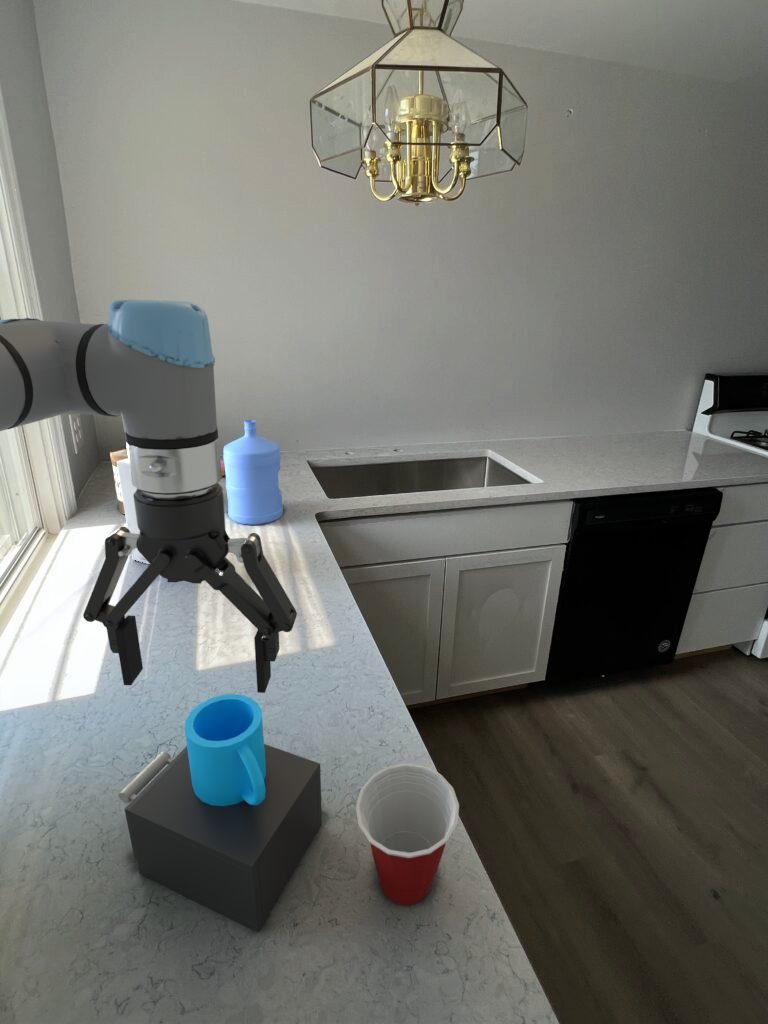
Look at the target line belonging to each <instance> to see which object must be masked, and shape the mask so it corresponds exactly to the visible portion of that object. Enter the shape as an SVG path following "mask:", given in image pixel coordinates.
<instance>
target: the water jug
mask: <svg viewBox="0 0 768 1024" xmlns="http://www.w3.org/2000/svg"><path fill="white" fill-rule="evenodd" d="M243 423H244V427H243V428H244V435H243V436H241V437H239V438H236V439H235V440H233V441H231V442H229V443H227V444H225V445H224V447H223V449H222V450H223V456H222V457H223V460H224V463H225V474H226V476H225V490H226V496H227V506H228V507H227V515H228V517H229V519H230V520H231V521H233V522H234V523H237V524H241V525H251V526H252V525H253V526H254V525H255V526H256V525H264V524H268V523H272V522H275V521H277V520H278V519H280V518H281V517H282V516H283V514H284V505H283V495H282V494H283V493H282V489H280V485H279V473H280V470H281V450H280V446H279V444H278V443H276V441H272V440H270V439H268V438H265V437H262V436H260V435H258V434H257V426H256V423H257V420H255V419H245V420H244V421H243Z"/></svg>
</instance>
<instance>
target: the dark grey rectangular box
mask: <svg viewBox="0 0 768 1024" xmlns="http://www.w3.org/2000/svg"><path fill="white" fill-rule="evenodd" d="M264 750H265V763H266V776H265V779H264V784H265V789H266V791H265V798H264V800H263V801H262V802H261V803H260V804H259V805H250V804H248V803H247V802H246V801H245V800H244V801H241V802H239V803H237V804H233V805H227V806H215V805H210V804H207V803H205V802H203V801H201V800H200V799H199V798H198V797H197V796H196V795H195V792H194V789H193V786H192V779H191V772H190V764H189V757H188V750H186V751H185V752H184V753H183V754H182V755H181V756H180V757H179V758H178V759H177V760H176V761H175V762H174V763H173V764H172V765H171V766H170V767H169V768H168V769H167V771H166V772H165V773H164V774H163V775H162V776H161V777H160V778H159V779H158V780H157V781H156V782H155V783H154V784H153V785H152V786H151V787H150V788H149V789H148V790H147V791H146V792H145V793H144V794H143V795H142V796H141V797H140V798H139V799H138V800H137V801H136V802H135V803H134V804H133V805H132V806H131V807H130V808H129V809H128V810H127V812H128V817H129V822H130V827H131V832H132V837H133V842H134V847H135V852H136V857H137V860H136V861H137V867H138V871H139V875H141V876H143V877H144V878H147V879H149V880H150V881H153V882H155V883H157V884H159V885H161V886H163V887H165V888H167V889H169V890H171V891H172V892H175V893H177V894H179V895H181V896H183V897H186V898H187V899H189V900H191V901H193V902H195V903H197V904H200V905H202V906H204V907H205V908H207V909H209V910H211V911H214V912H216V913H218V914H220V915H221V916H224V917H226V918H227V919H230V920H231V921H234V922H236V923H238V924H240V925H242V926H244V927H246V928H248V929H250V930H252V931H254V932H256V933H259V932H260V931H261V929H262V927H263V925H264V924H265V922H266V920H267V918H268V917H269V915H270V913H271V912H272V910H273V908H274V907H275V905H276V903H277V902H278V900H279V898H280V896H281V894H282V893H283V891H284V889H285V888H286V886H287V885H288V883H289V881H290V879H291V878H292V876H293V874H294V872H295V871H296V869H297V867H298V866H299V864H300V862H301V860H302V858H303V856H304V855H305V853H306V852H307V850H308V848H309V846H310V845H311V843H312V841H313V840H314V838H315V836H316V834H317V833H318V831H319V829H320V827H321V826H322V824H323V820H322V819H323V816H322V813H323V812H322V782H321V781H322V780H321V775H322V774H321V763H320V762H317V761H314V760H311V759H309V758H305V757H304V756H303V757H302V756H300V755H297V754H294V753H292V752H289V751H287V750H286V751H285V750H283V749H280V748H278V747H274V746H271V745H269V744H266V743H264Z"/></svg>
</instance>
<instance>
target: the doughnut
mask: <svg viewBox="0 0 768 1024" xmlns="http://www.w3.org/2000/svg"><path fill="white" fill-rule="evenodd" d="M220 462H221V474H222V477H226V474H225V463H224V459H220Z"/></svg>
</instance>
